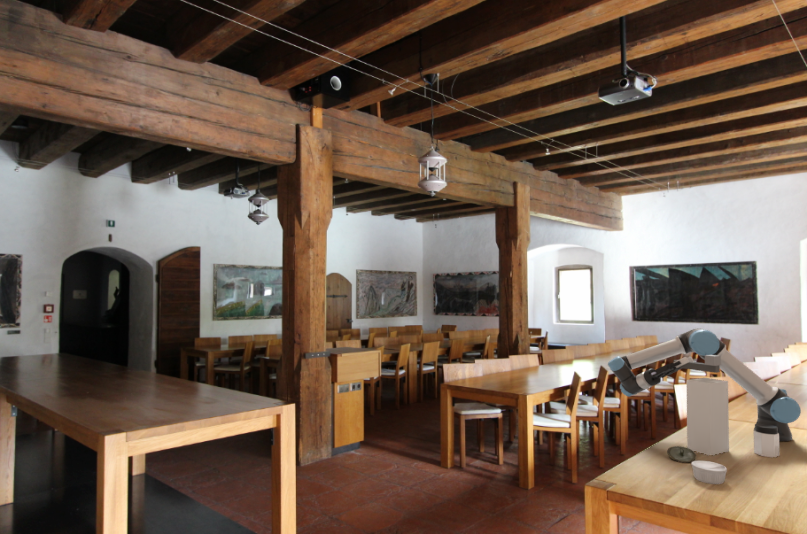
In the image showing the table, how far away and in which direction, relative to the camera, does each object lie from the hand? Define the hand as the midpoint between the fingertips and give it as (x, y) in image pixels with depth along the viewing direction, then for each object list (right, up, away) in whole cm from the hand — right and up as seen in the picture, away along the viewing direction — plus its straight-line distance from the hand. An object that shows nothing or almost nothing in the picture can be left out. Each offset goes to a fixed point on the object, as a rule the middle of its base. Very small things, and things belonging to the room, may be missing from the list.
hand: (689, 359), depth 236 cm
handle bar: (+1, -4, -3) cm, 5 cm away
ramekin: (-17, -36, -45) cm, 60 cm away
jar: (+26, -38, -13) cm, 48 cm away
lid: (-15, -37, -21) cm, 45 cm away
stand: (+3, -38, -8) cm, 39 cm away
